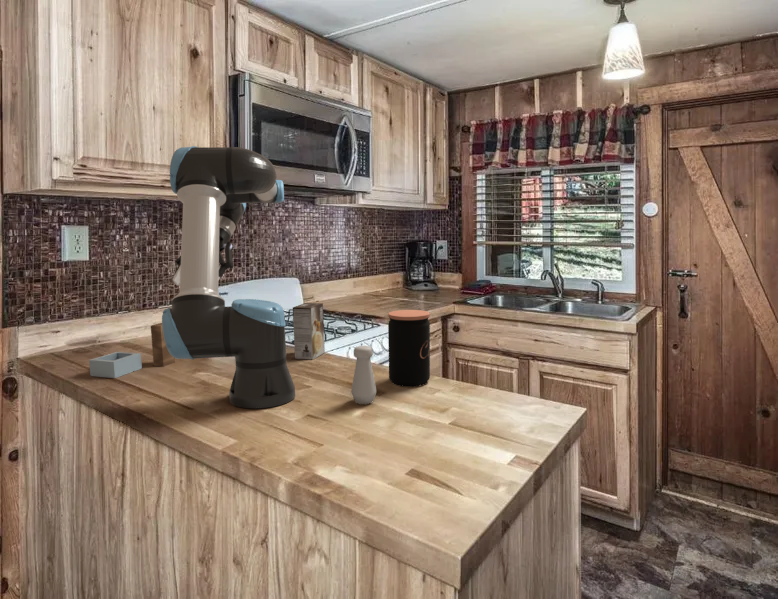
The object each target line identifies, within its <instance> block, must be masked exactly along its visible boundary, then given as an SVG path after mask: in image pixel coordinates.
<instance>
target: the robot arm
mask: <svg viewBox="0 0 778 599" xmlns="http://www.w3.org/2000/svg"><path fill="white" fill-rule="evenodd" d="M273 164H274V163H272V162H271V161H270V160H269V159H268V158H267V157H265V156H264V155H262V154H260V153H258V152H257V151H254V150H251V149H248V148H244V147H238V146H236V147H235V146H233V147H230V146H229V147H226V146H225V147H214V146H213V147H211V146H210V147H201V146H200V147H198V146H196V145H193V146H187V147H186V146H183V147H182V146H181V147H179V148H177V149H176V150H175V151H174V152H173V153H172V156H171V160H170V164H169V185H170V187H171V190H172V192H173V193H174V194H175V195H176V197H177V200H178V201H179V202H181V203H182V204H183V205H182V220H181V221H182V222H181V225H182V226H181V228H182V229H181V248H180V250H181V252H180V256H179V257H178V258H177V259H175V261H174V263H175V264H176V265H177V266H178V267H177V268H176V270H175V273H174V276H173V277H172V279H171V280H172V282H173V283H174V284H175V285H176V286H179V293H178V294H176V295H175V296H174V297H172V300H171V307H167V308H165V309H164V310H163V311H162V316H161V323H162V328H163V335H164V340H165V343H166V346H167V349H168V351H169V353H170V354H171V356H173V357H174V358H175V359H177V360H179V359H180V360H192V361H194V360H195V359H209V358H210V359H211V358H230V357H231V358H234V361H235V370H234V373H233V376H232V382H231V385H230V387H229V396H228V397H229V403H230V404H231V405H232V406H235V407H237V408H242V409H243V408H244V409H265V408H273V407H278V406H282V405H284V404H287V403H289V402H291V401H293V400H294V399H295V397H296V385H295V383H294V380H293V377H292V374H291V372H290V370H289V367H288V365H287V364H288V363H287V349H286V347H287V344H286V342H287V341H286V328H285V327H286V326H287V324H286V320H285V311H284V310H285V309H284V308H283V306H281V304H279V303H276V302H274V301H270V300H264V299H253V298H246V299H245V298H243V299H242V298H238V299H234V300H232V303H231V305H230V306H226V300H225V299H224V297H222V296H221V295H220V294H219V280H221V279H220V278H223V276H224V274H225V272H226V270H228V269H233V267H234V261H233V260H234V259H233V250H234V246H233V244H232V243H231V241H230V240H231V238H232V236H233V234H234V233H235V230H236V228H237V226H238V225H239V222H240V220H241V218H242V217H243V215H244V213H245V211H246V209H247V204H253V203H254V204H256V203H257V204H259V203H260V204H277V203H278V204H280V203H283V202H284V201H285V189H284V188H285V186H284V182H283V180H281V179H277V171H276V168H275V166H274V165H273ZM224 250H225V259H224V257H223V254H222V252H223V251H224Z"/></svg>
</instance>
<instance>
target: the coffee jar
mask: <svg viewBox="0 0 778 599" xmlns="http://www.w3.org/2000/svg"><path fill="white" fill-rule="evenodd" d="M387 315H388V318H389V321H388V325H387V326H388V327H387V330H388V335H387V336H388V338H387V339H388V340H387V341H388V378H389V380H390V382H391V383H392V385H395V386H399V387H406V388H413V387H414V386H415V387H420V386H419V385H421V386H424V385H426V384H427V383H428V381H429V380H430V377H431V334H430V333H431V332H430V331H431V323H430V320H429V318H430V317H431V316H430V315H431V314H430V312H429V311H426V310H420V309H399V310H398V309H397V310H392V311H389V312H388V314H387ZM423 384H424V385H423Z"/></svg>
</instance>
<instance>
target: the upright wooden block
mask: <svg viewBox="0 0 778 599" xmlns="http://www.w3.org/2000/svg"><path fill="white" fill-rule="evenodd" d="M150 336H151V347H152V360H153V366H155V367H167V366H169V365H171V364H173V363H174V364H175V363H176V358H174V357H173V356H171V354H170V353H169V351H168V349H167V346H166V343H165V340H164V335H163V328H162V322H159V323H156V324H151V325H150Z"/></svg>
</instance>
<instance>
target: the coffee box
mask: <svg viewBox="0 0 778 599" xmlns="http://www.w3.org/2000/svg"><path fill="white" fill-rule="evenodd" d="M292 323H293V324H292V325H293V338H294V339H293V343H294V344H293V346H294V359H297V360H311V359H313V360H315V359H317V358H318V357H319V356H321V355H323V354H325V353H326V351H325V350H326V348H325V324H324V323H325V322H324V303H323V302H321V303H320V302H319V303H317V302H313V303H312V302H304V303H301V304H298V305H295V306H294V307H292Z"/></svg>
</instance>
